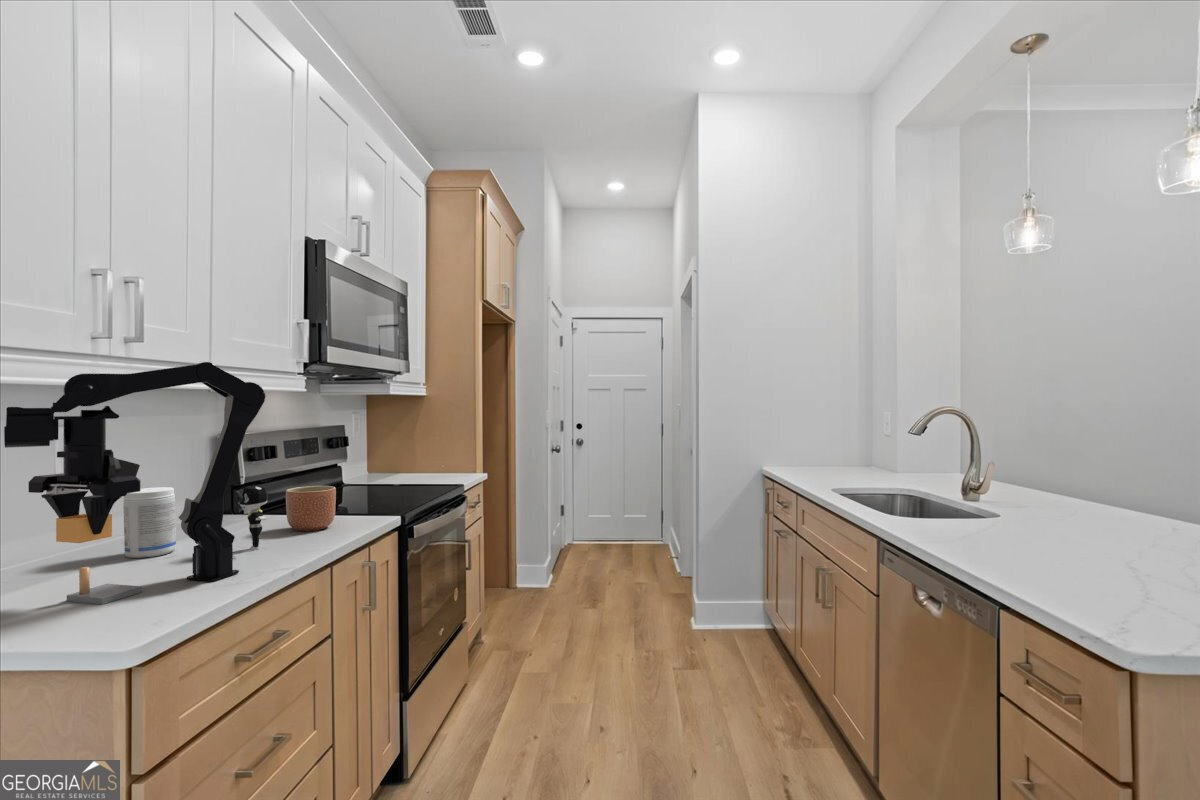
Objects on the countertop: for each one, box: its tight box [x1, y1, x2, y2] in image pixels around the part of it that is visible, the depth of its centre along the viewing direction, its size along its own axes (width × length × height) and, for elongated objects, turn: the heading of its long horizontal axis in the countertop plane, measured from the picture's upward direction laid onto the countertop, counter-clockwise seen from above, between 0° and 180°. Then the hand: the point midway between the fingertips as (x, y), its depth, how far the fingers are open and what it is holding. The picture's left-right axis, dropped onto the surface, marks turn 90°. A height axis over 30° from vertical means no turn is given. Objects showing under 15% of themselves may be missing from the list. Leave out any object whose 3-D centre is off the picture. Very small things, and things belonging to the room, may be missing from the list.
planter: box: [285, 485, 337, 532], centre depth 167 cm, size 12×12×11 cm
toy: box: [239, 484, 269, 551], centre depth 144 cm, size 13×6×15 cm, turn 42°
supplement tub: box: [122, 486, 177, 559], centre depth 140 cm, size 10×10×15 cm
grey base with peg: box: [66, 566, 143, 605], centre depth 109 cm, size 8×7×6 cm
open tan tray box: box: [55, 513, 113, 544], centre depth 108 cm, size 5×5×4 cm
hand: (84, 533), depth 108 cm, fingers closed on open tan tray box, 5 cm apart
